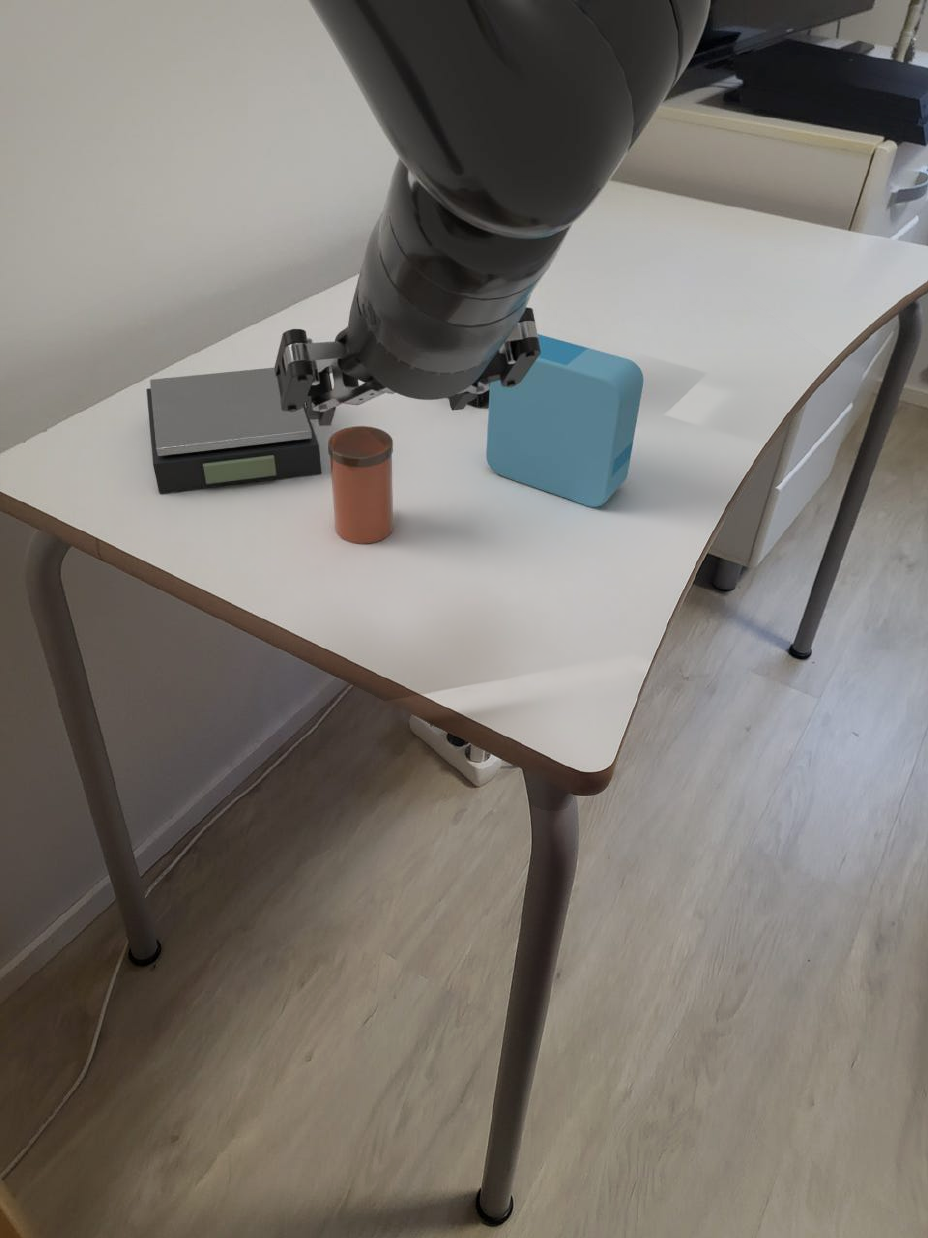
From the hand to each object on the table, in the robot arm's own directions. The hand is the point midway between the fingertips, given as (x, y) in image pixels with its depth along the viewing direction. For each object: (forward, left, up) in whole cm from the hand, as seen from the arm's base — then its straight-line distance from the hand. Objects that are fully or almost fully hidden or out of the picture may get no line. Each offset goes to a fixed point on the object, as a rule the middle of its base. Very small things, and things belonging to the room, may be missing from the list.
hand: (388, 402), depth 59 cm
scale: (-9, +26, -17) cm, 33 cm away
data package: (+18, +13, -17) cm, 28 cm away
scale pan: (-9, +26, -13) cm, 31 cm away
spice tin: (0, +10, -17) cm, 20 cm away
